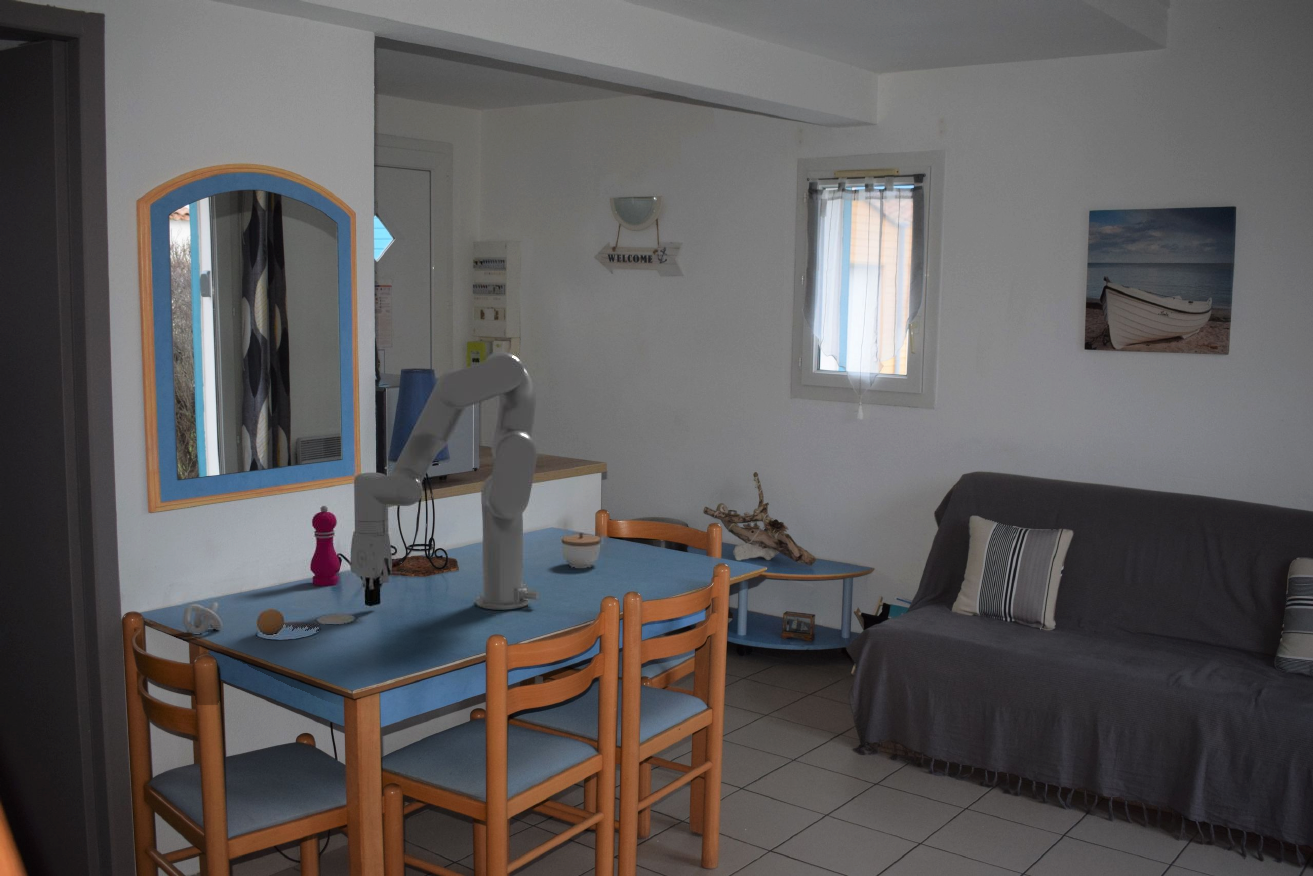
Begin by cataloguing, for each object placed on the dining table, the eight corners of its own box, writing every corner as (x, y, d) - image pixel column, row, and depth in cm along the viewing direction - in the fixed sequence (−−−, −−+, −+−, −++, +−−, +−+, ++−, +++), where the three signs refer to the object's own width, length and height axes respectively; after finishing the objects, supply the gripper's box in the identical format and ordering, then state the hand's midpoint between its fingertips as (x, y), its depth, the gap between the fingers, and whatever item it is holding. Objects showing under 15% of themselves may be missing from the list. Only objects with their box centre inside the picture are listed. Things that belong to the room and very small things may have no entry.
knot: (192, 625, 238) (191, 599, 238) (230, 625, 239) (229, 599, 238) (180, 635, 231) (179, 609, 230) (218, 635, 231) (218, 608, 231)
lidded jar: (607, 564, 302) (608, 531, 301) (585, 572, 293) (585, 538, 292) (576, 559, 308) (577, 527, 307) (553, 566, 299) (553, 533, 298)
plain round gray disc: (361, 616, 247) (361, 615, 247) (342, 626, 239) (342, 625, 239) (329, 613, 249) (329, 612, 249) (310, 623, 241) (310, 622, 241)
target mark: (331, 625, 240) (331, 624, 240) (298, 642, 227) (298, 641, 227) (278, 620, 243) (278, 620, 243) (243, 637, 230) (243, 636, 230)
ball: (254, 631, 228) (272, 644, 231) (274, 613, 228) (292, 626, 232) (248, 617, 232) (266, 630, 236) (268, 599, 233) (286, 612, 236)
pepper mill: (346, 581, 279) (344, 504, 276) (328, 587, 272) (327, 509, 270) (322, 578, 281) (320, 502, 279) (304, 585, 274) (303, 507, 272)
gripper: (338, 524, 251) (339, 602, 254) (378, 533, 242) (379, 614, 244) (365, 520, 257) (366, 596, 259) (405, 528, 248) (406, 607, 250)
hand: (372, 604), depth 252 cm, fingers closed
